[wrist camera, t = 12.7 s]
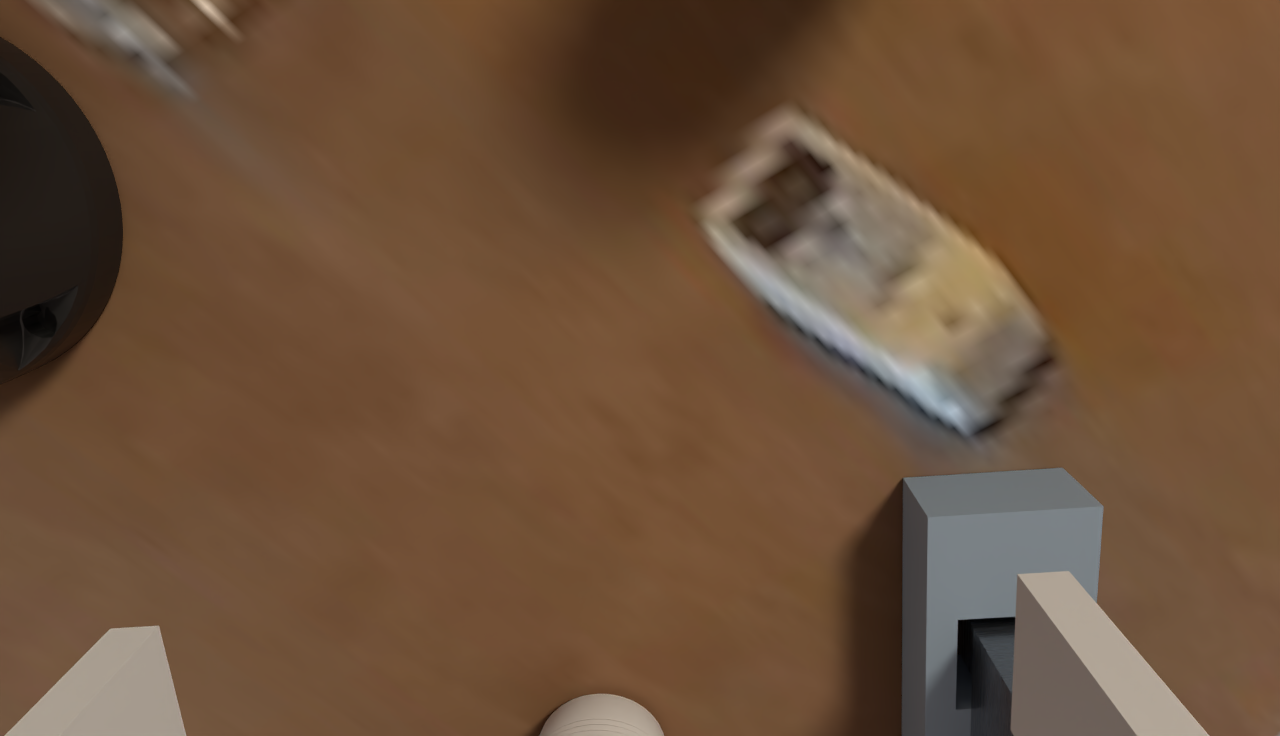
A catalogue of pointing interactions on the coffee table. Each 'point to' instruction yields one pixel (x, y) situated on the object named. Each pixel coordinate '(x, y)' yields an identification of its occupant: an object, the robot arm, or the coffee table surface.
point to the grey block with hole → (979, 572)
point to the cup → (601, 718)
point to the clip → (989, 672)
